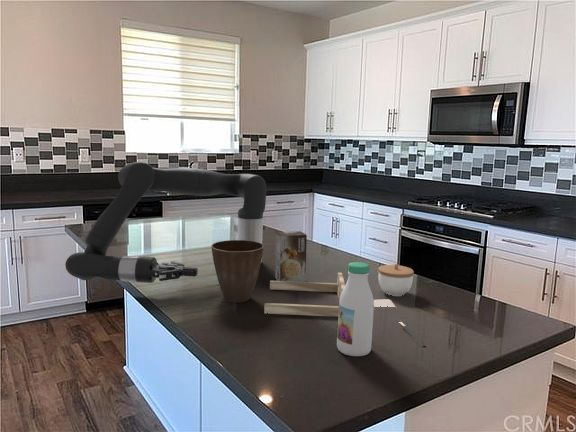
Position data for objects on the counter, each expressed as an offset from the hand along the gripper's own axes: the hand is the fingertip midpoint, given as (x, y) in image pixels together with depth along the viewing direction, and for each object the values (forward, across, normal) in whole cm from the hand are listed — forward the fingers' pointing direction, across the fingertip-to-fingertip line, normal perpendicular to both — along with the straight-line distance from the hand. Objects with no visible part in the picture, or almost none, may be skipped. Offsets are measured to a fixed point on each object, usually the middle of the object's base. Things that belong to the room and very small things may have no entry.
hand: (197, 272), depth 134 cm
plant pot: (+12, 0, +8) cm, 14 cm away
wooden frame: (+32, 0, +7) cm, 33 cm away
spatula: (+57, -12, +8) cm, 59 cm away
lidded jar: (+60, +11, +7) cm, 61 cm away
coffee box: (+27, +20, +7) cm, 34 cm away
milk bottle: (+43, -30, +8) cm, 53 cm away
